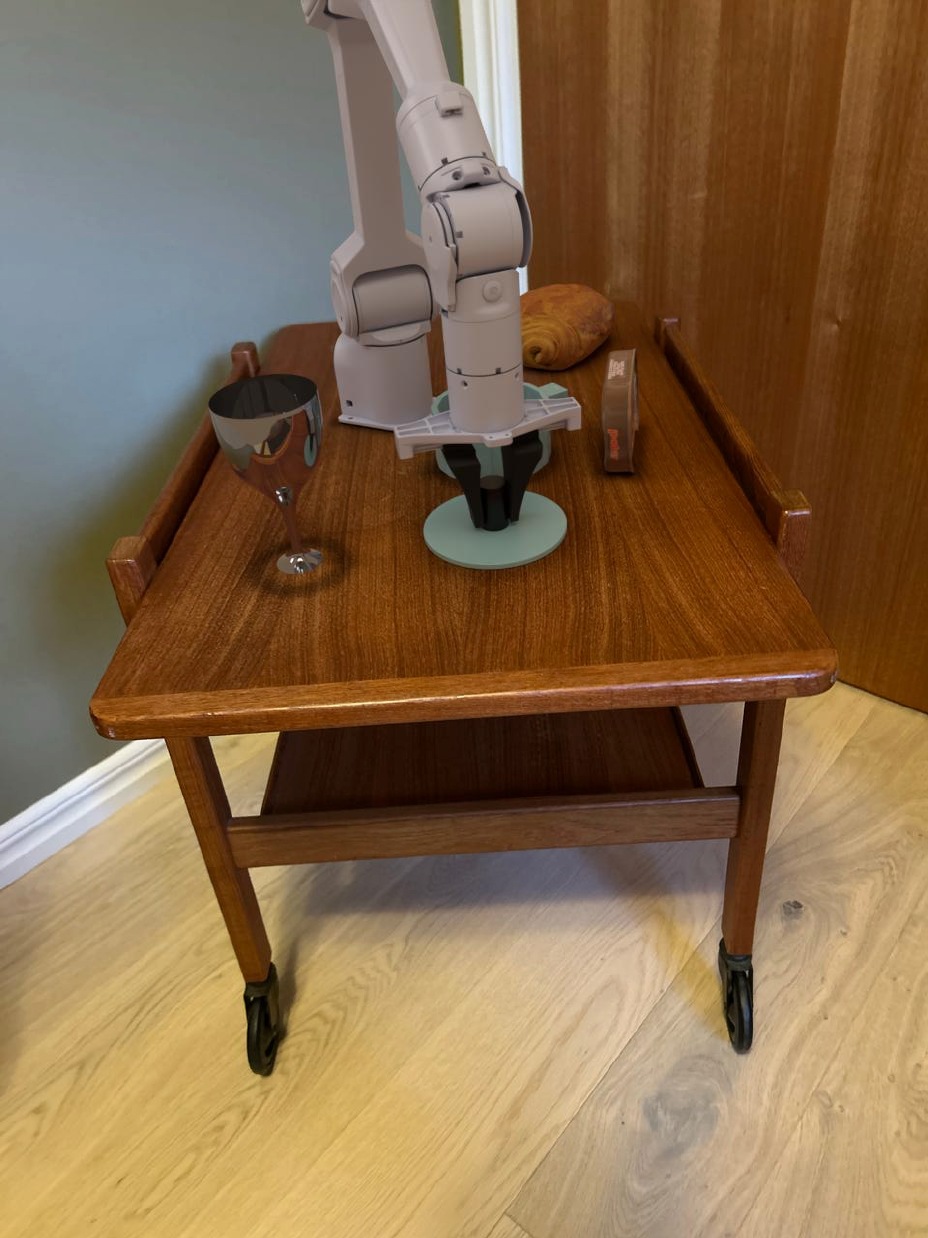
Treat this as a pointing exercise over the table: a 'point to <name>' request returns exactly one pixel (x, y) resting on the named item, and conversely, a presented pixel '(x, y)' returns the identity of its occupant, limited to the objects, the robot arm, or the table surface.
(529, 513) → the lid
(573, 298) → the croissant
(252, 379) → the wine glass
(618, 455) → the tin
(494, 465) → the pot
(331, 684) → the table surface
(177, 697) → the table surface
